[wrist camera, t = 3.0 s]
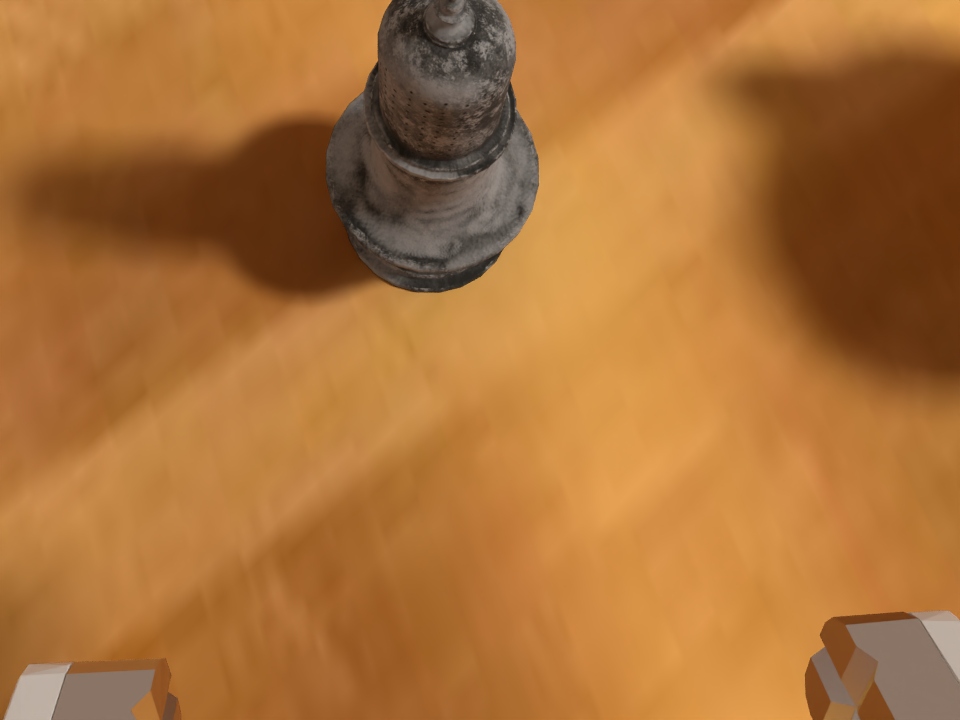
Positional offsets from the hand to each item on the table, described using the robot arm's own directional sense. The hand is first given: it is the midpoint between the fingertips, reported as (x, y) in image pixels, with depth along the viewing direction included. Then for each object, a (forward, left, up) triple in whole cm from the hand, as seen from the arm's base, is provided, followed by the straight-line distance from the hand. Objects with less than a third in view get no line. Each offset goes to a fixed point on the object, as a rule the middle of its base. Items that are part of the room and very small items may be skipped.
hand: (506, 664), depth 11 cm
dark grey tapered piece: (0, +11, -16) cm, 19 cm away
